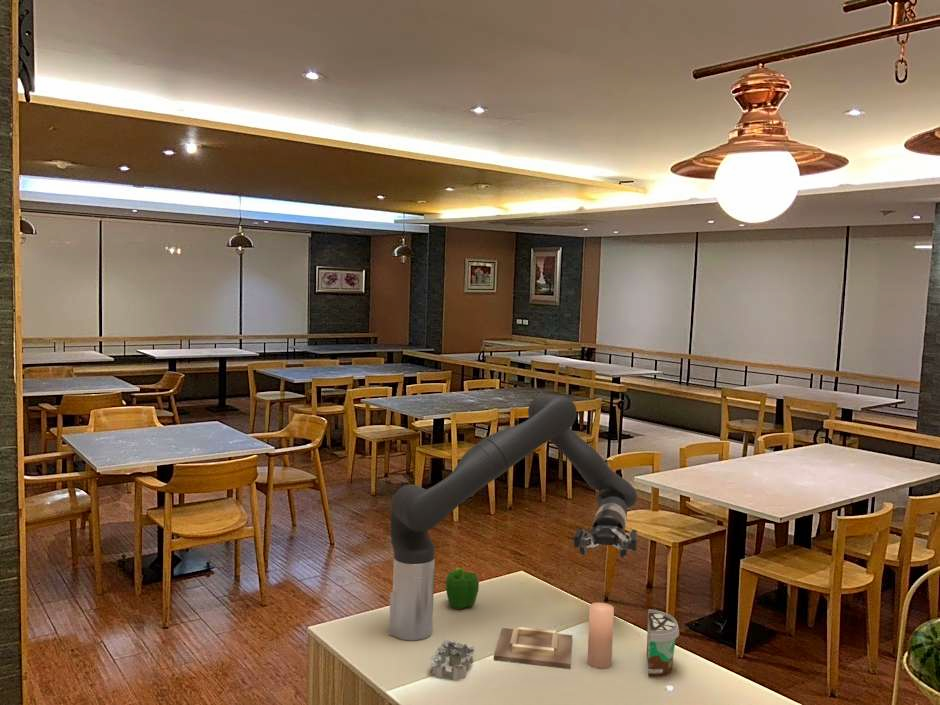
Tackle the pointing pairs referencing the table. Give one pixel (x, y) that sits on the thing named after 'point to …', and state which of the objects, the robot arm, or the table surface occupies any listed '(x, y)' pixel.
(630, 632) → the table surface
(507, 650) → the board
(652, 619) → the food container
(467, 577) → the bell pepper
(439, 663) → the egg carton
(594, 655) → the terracotta pin
